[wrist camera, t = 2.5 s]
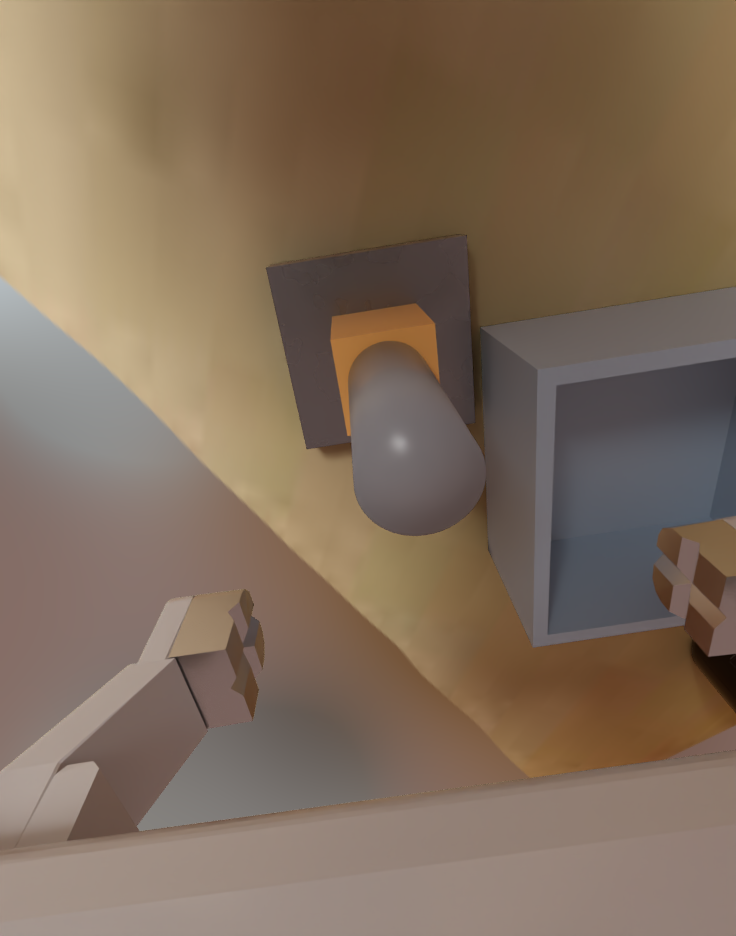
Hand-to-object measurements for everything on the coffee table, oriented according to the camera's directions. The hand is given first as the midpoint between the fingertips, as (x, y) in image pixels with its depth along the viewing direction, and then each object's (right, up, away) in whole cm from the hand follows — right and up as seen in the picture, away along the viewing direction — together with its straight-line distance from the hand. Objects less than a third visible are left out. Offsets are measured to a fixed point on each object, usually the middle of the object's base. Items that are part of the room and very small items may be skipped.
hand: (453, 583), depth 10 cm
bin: (+14, +5, +22) cm, 26 cm away
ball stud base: (-1, +10, +18) cm, 21 cm away
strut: (-1, +9, +16) cm, 19 cm away
